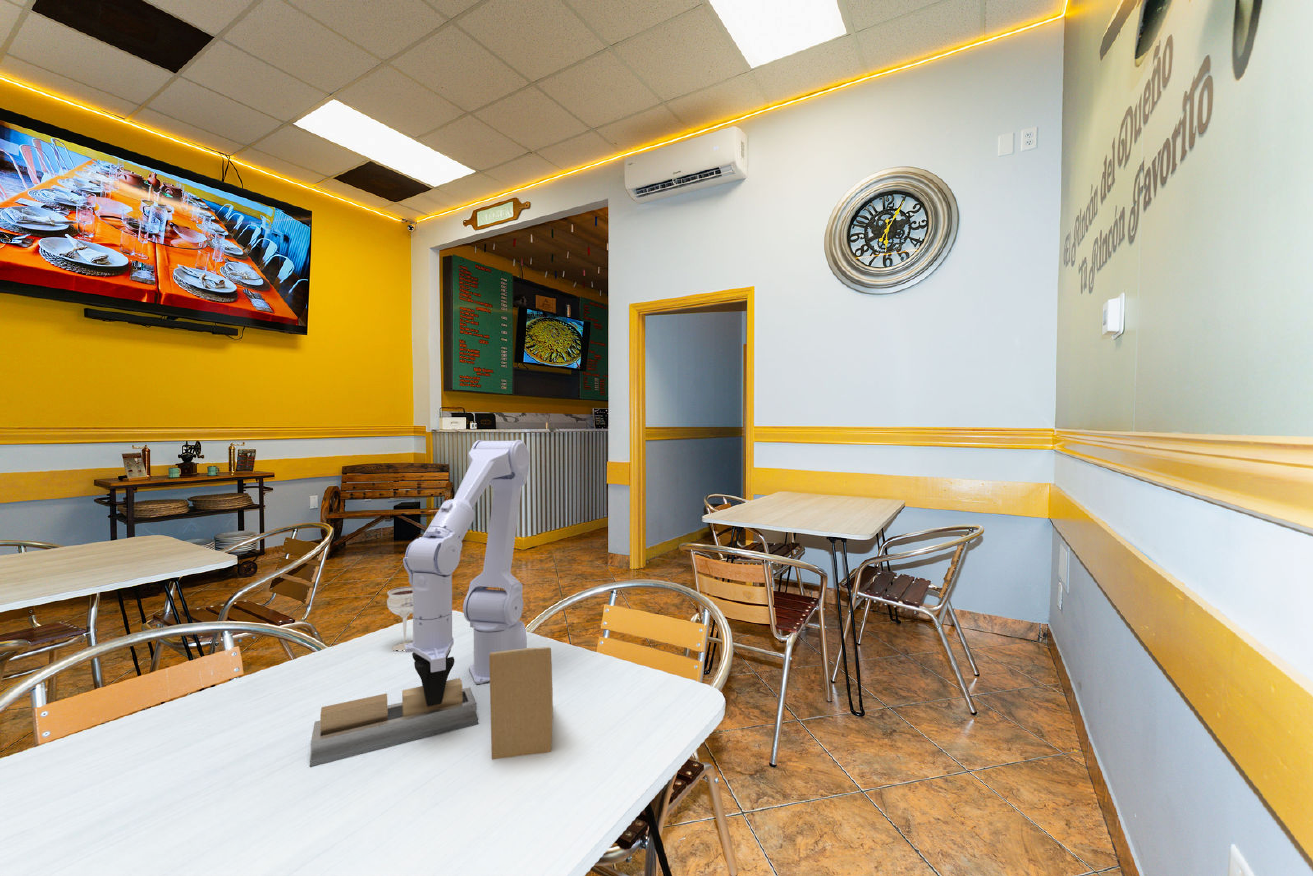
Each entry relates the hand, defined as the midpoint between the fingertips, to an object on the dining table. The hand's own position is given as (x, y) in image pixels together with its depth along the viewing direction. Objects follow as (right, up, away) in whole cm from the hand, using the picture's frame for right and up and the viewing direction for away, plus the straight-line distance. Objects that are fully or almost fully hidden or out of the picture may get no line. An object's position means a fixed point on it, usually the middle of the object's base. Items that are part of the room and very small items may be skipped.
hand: (433, 700), depth 84 cm
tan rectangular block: (0, -2, 0) cm, 2 cm away
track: (-4, -3, -2) cm, 6 cm away
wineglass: (-19, -4, +30) cm, 35 cm away
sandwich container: (+15, -4, -2) cm, 15 cm away
